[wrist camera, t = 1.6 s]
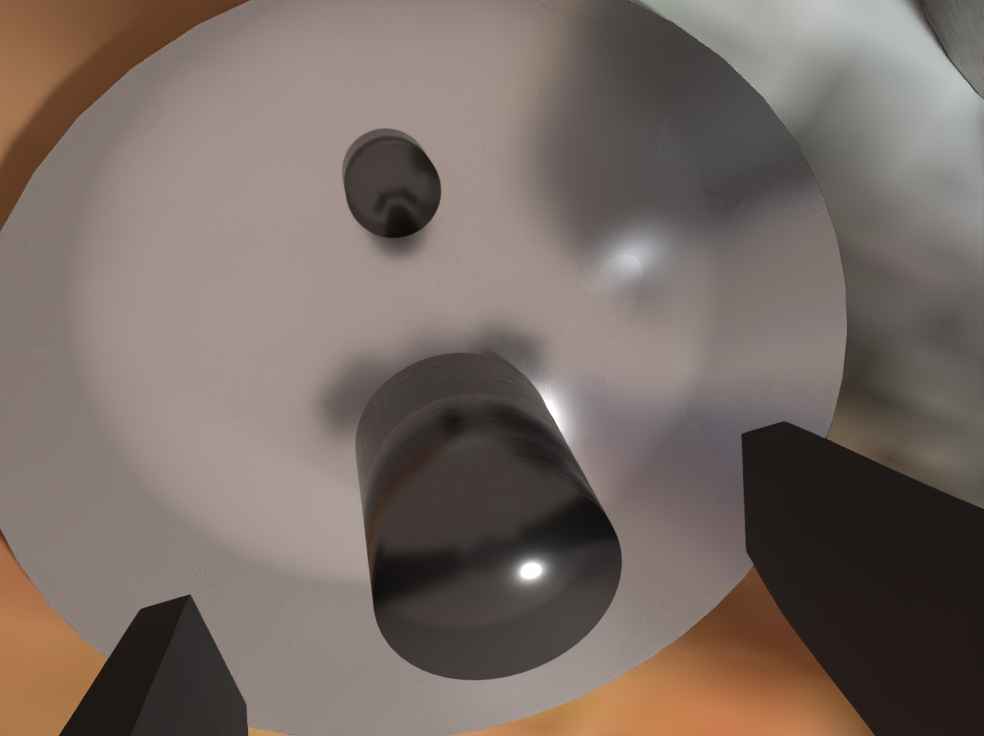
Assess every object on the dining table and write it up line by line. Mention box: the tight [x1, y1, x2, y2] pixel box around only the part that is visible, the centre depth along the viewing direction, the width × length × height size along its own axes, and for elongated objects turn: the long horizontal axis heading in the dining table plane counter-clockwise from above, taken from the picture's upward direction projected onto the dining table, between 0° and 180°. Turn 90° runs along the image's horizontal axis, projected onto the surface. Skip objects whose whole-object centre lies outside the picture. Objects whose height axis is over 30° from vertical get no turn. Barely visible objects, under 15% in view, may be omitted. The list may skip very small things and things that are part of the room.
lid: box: [0, 0, 847, 736], centre depth 12 cm, size 14×14×4 cm
